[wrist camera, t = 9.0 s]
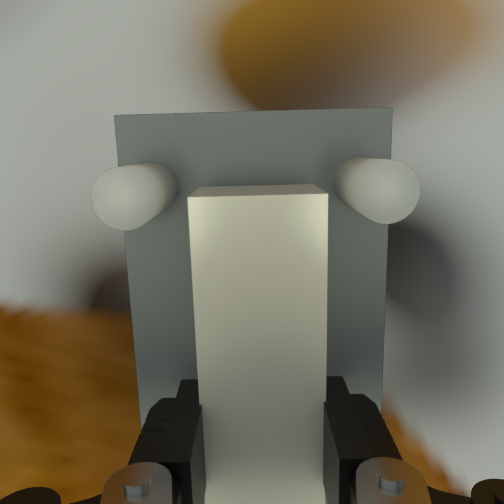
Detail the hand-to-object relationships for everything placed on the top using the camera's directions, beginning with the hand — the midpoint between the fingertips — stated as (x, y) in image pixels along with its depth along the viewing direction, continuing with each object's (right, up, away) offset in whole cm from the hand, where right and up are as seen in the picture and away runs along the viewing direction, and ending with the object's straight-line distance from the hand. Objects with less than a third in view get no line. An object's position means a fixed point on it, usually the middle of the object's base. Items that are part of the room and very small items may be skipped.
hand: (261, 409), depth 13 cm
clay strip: (0, 0, +1) cm, 1 cm away
